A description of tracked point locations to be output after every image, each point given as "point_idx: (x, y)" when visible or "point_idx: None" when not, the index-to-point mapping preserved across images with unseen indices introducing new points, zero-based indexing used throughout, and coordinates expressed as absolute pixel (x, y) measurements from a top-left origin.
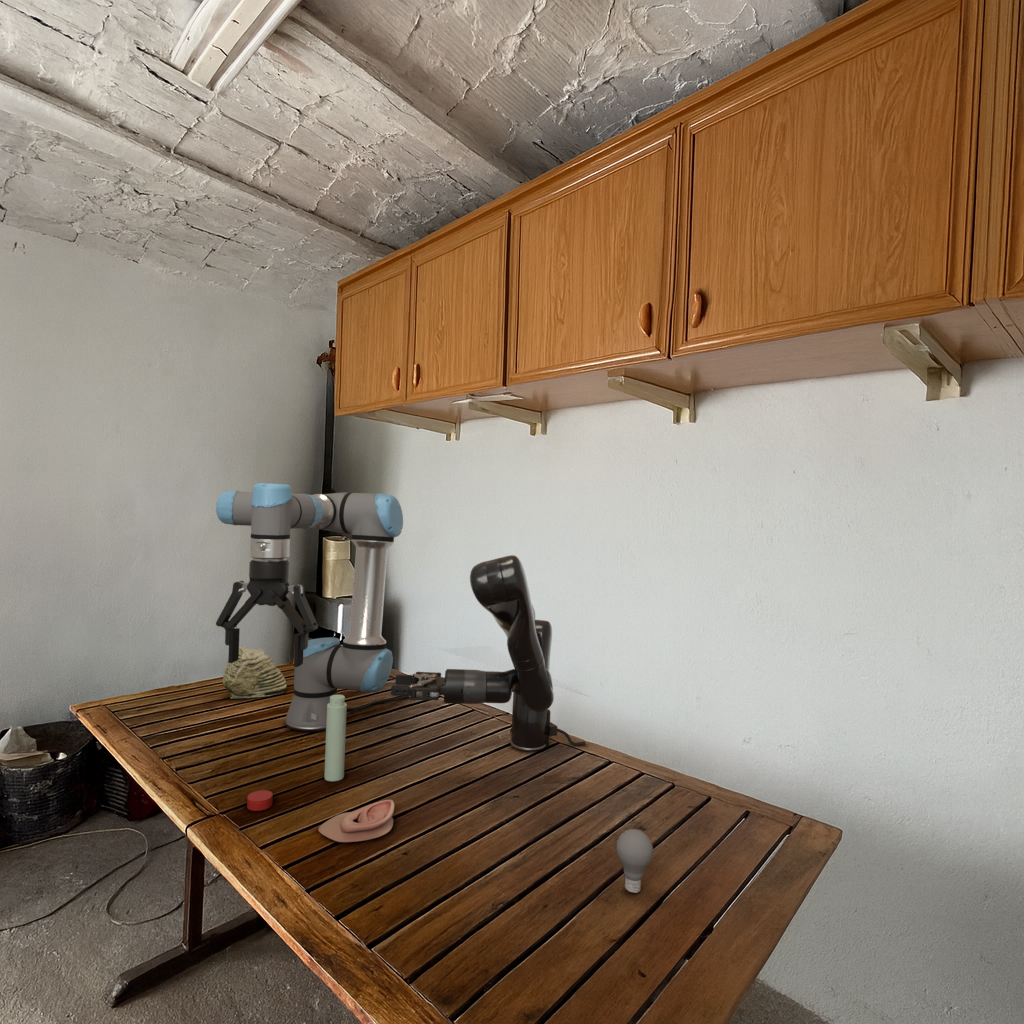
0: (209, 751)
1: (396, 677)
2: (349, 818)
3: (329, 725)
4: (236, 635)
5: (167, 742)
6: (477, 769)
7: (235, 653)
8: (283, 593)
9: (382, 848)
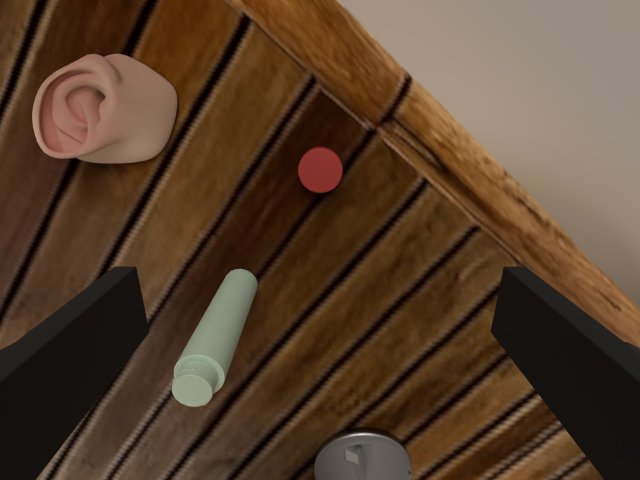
0: (493, 341)
1: None
2: (106, 91)
3: (220, 327)
4: (609, 427)
5: None
6: None
7: (521, 327)
8: None
9: (40, 50)
